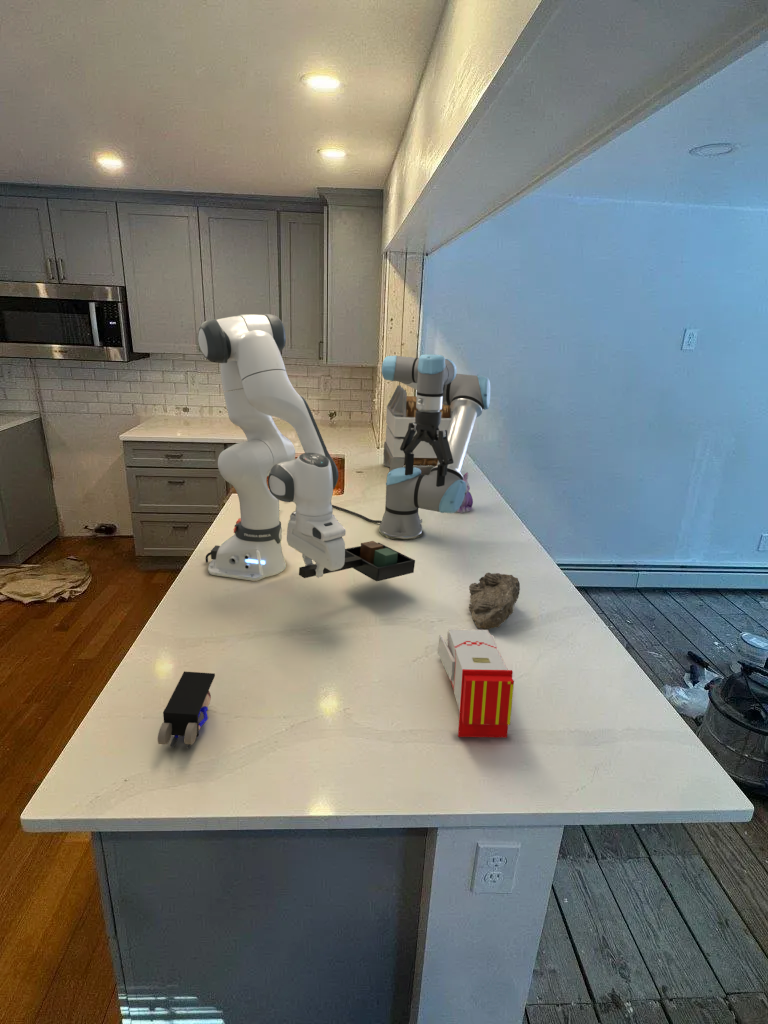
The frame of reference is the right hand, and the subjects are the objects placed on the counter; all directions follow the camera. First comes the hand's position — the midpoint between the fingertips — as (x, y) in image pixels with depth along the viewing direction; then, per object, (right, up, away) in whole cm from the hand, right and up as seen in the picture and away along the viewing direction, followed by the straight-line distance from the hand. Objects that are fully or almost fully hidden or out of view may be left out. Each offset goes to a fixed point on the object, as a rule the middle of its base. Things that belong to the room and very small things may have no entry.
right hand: (424, 480), depth 172 cm
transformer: (+5, +9, +103) cm, 104 cm away
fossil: (+17, -36, -21) cm, 45 cm away
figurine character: (-48, -50, -66) cm, 96 cm away
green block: (-12, -25, -19) cm, 34 cm away
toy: (+6, -47, -53) cm, 71 cm away
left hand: (-29, -25, -31) cm, 49 cm away
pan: (-21, -26, -23) cm, 40 cm away
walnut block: (-16, -23, -15) cm, 32 cm away
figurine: (+19, -9, +56) cm, 60 cm away
